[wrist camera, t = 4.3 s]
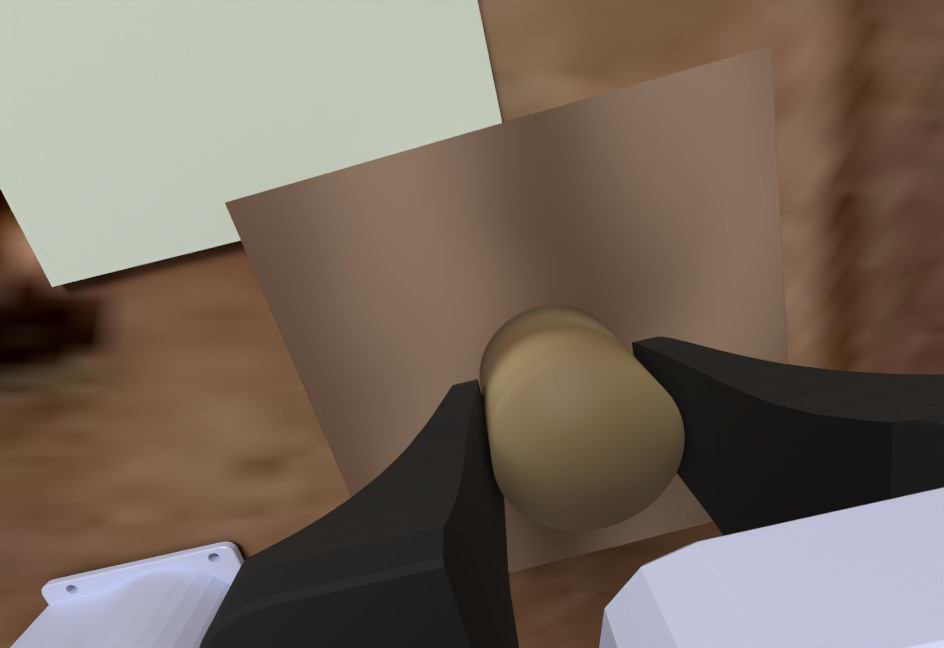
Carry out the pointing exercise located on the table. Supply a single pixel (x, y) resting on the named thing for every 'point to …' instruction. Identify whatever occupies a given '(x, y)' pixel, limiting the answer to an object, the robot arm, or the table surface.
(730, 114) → the lid
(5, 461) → the table surface
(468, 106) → the mat
